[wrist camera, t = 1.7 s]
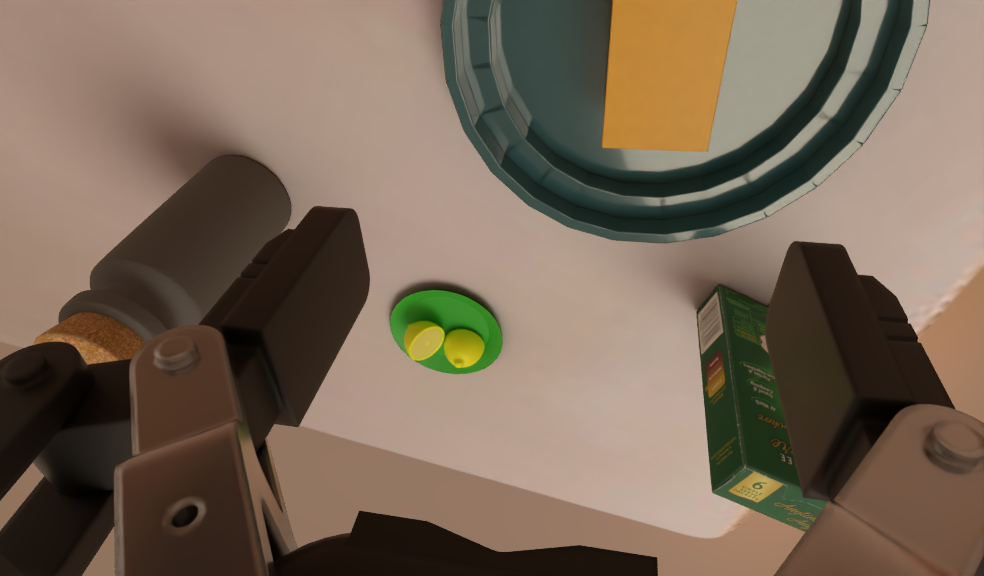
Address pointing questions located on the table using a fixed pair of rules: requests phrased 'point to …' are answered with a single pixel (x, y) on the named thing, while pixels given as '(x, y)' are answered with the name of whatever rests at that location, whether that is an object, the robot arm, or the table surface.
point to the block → (665, 72)
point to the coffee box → (747, 413)
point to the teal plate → (737, 122)
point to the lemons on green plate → (446, 332)
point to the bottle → (175, 261)
